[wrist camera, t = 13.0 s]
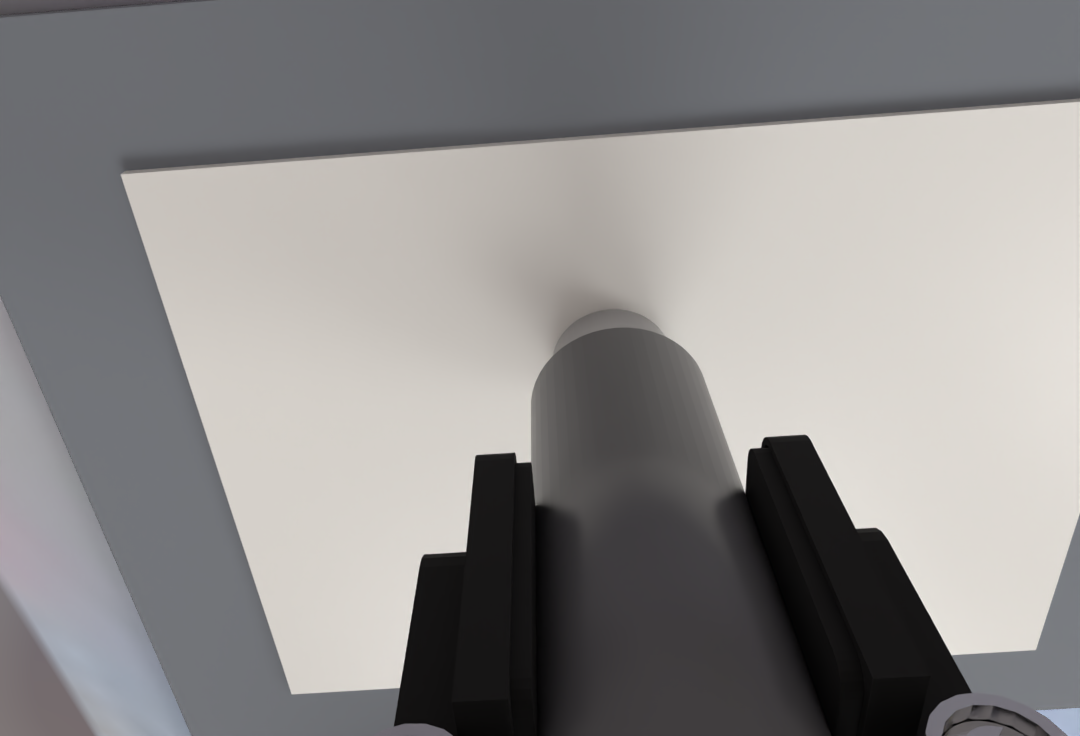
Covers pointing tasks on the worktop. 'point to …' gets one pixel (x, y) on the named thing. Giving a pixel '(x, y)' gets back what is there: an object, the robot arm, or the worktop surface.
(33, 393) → the worktop surface
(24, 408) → the worktop surface
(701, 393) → the marker
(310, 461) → the paper
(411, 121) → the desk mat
